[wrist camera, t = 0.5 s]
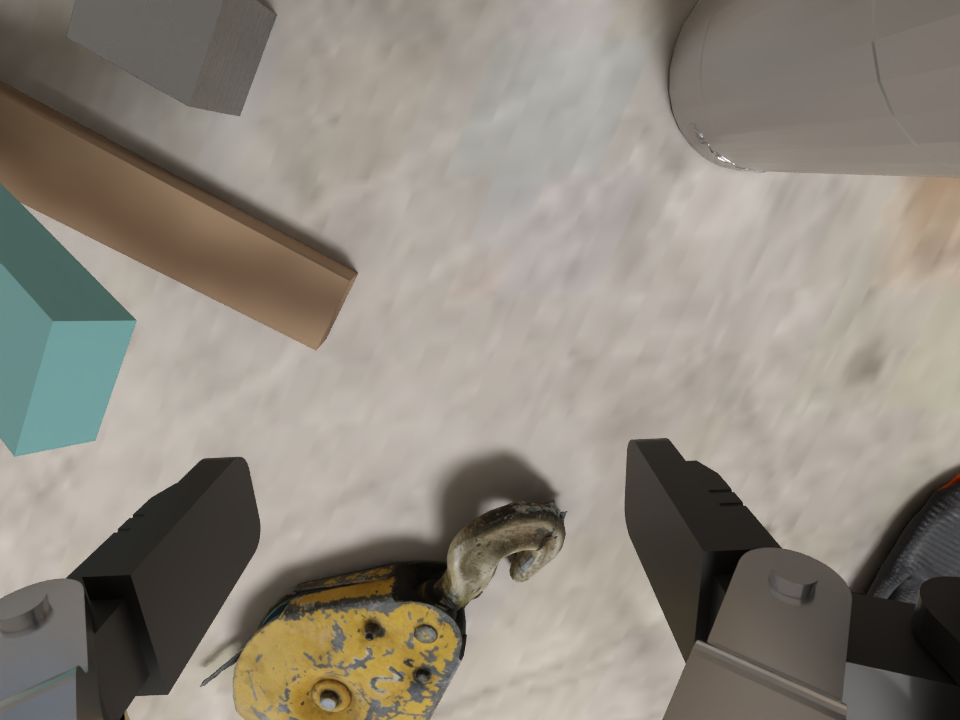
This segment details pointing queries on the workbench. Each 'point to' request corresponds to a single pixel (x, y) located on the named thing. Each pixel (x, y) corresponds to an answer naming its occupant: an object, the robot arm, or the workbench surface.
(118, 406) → the workbench surface
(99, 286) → the tongs upper jaw
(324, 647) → the pulley block
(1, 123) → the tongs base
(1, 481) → the workbench surface
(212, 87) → the steel block
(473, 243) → the workbench surface
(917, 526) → the pair of gloves
